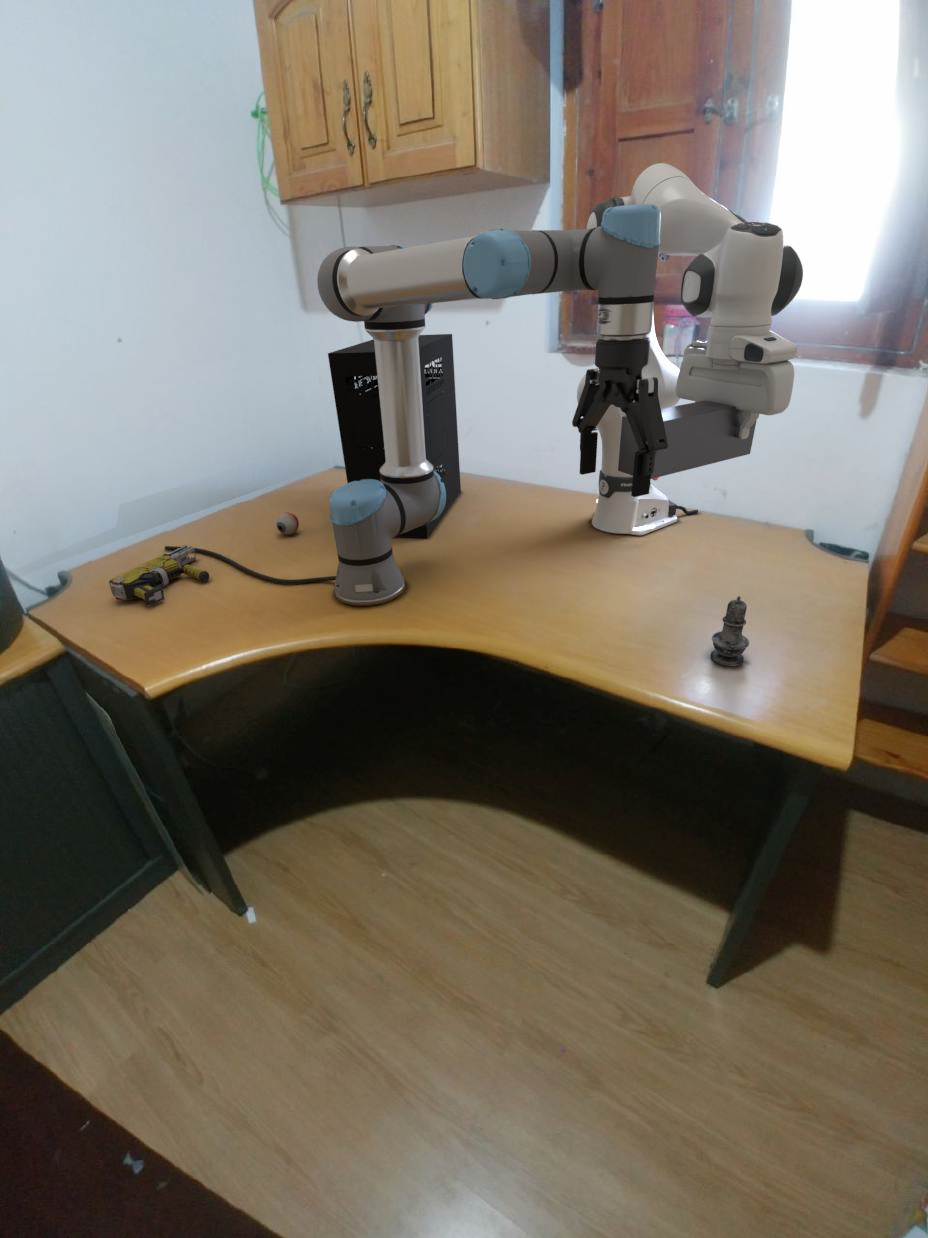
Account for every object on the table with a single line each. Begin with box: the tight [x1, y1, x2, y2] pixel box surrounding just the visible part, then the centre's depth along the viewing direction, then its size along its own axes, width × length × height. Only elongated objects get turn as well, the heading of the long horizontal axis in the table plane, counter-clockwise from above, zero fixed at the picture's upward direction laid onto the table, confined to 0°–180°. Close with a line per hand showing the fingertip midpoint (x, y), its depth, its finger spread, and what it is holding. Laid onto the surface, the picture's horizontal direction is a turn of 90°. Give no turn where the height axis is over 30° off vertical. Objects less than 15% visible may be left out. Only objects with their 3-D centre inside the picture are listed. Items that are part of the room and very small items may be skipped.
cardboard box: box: [327, 333, 462, 539], centre depth 164 cm, size 38×20×45 cm, turn 167°
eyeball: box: [275, 511, 300, 536], centre depth 163 cm, size 6×6×6 cm
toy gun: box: [108, 544, 210, 607], centre depth 141 cm, size 5×24×15 cm
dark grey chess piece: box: [710, 595, 750, 667], centre depth 101 cm, size 6×6×12 cm
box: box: [618, 401, 758, 480], centre depth 99 cm, size 24×6×9 cm, turn 119°
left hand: (612, 483), depth 96 cm, fingers open, 13 cm apart
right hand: (722, 433), depth 102 cm, fingers closed on box, 6 cm apart
